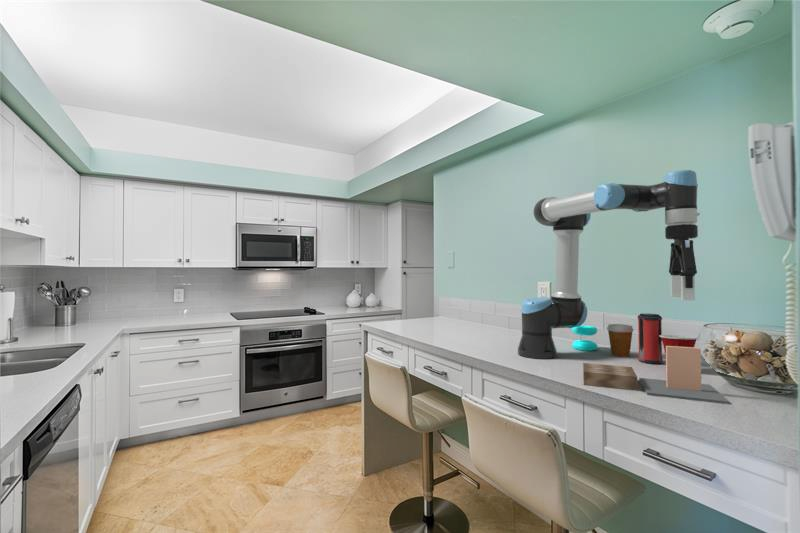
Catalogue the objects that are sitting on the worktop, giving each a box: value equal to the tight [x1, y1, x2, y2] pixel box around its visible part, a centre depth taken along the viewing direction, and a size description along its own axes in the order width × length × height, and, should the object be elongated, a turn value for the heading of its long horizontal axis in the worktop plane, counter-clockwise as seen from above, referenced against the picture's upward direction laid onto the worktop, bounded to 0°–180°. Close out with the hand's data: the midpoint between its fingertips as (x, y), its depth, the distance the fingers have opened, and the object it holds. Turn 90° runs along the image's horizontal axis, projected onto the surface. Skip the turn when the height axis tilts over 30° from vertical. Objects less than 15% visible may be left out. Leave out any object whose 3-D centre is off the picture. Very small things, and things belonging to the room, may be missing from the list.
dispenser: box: [582, 362, 638, 391], centre depth 118 cm, size 14×12×4 cm
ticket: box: [665, 346, 702, 391], centre depth 109 cm, size 8×1×12 cm, turn 66°
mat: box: [638, 377, 730, 405], centre depth 109 cm, size 18×16×1 cm
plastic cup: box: [659, 334, 698, 356], centre depth 132 cm, size 11×11×12 cm
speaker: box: [637, 313, 663, 365], centre depth 143 cm, size 8×8×18 cm
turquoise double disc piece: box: [571, 324, 598, 352], centre depth 167 cm, size 10×10×10 cm
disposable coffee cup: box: [606, 323, 635, 358], centre depth 155 cm, size 10×10×12 cm
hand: (682, 298), depth 109 cm, fingers open, 13 cm apart
